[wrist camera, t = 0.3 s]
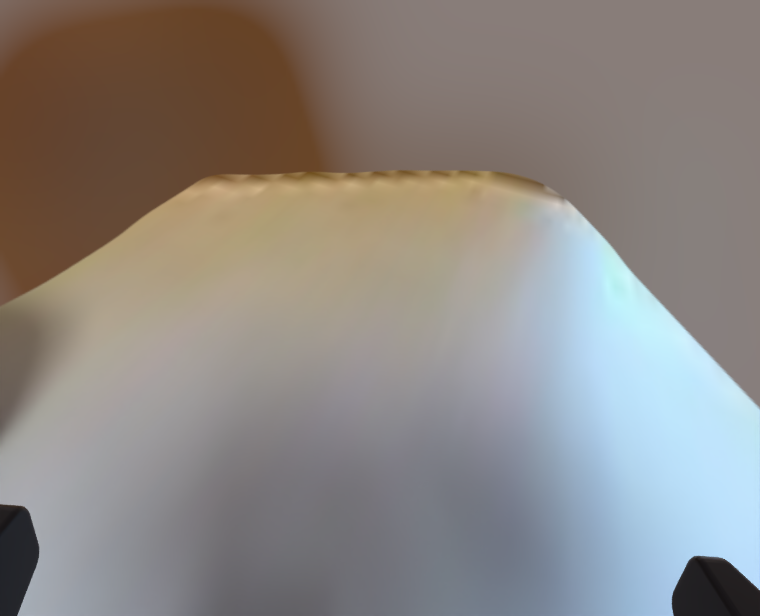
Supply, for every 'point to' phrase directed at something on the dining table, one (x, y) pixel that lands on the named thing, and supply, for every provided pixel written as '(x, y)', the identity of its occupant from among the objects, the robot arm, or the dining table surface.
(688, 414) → the dining table surface
